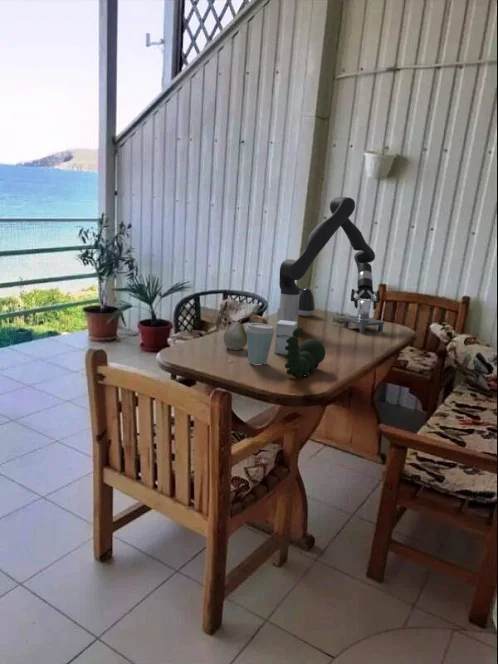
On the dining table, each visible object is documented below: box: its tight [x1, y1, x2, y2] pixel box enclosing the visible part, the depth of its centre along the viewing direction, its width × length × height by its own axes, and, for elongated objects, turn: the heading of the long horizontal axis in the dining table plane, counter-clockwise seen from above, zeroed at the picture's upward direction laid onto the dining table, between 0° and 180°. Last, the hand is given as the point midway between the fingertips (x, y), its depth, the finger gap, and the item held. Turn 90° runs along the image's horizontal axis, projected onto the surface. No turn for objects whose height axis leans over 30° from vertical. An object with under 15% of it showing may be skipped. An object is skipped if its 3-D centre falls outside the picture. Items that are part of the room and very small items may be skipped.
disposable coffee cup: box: [245, 322, 275, 364], centre depth 187 cm, size 11×11×15 cm
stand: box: [343, 316, 385, 335], centre depth 253 cm, size 14×14×5 cm
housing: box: [357, 299, 372, 321], centre depth 251 cm, size 6×6×10 cm
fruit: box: [223, 319, 248, 351], centre depth 205 cm, size 10×9×12 cm
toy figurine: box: [284, 326, 326, 378], centre depth 179 cm, size 10×19×26 cm
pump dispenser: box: [298, 287, 316, 317], centre depth 278 cm, size 10×10×15 cm
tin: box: [248, 314, 269, 325], centre depth 232 cm, size 15×3×8 cm, turn 25°
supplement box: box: [273, 320, 298, 355], centre depth 204 cm, size 7×7×13 cm
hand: (365, 308), depth 249 cm, fingers open, 8 cm apart
